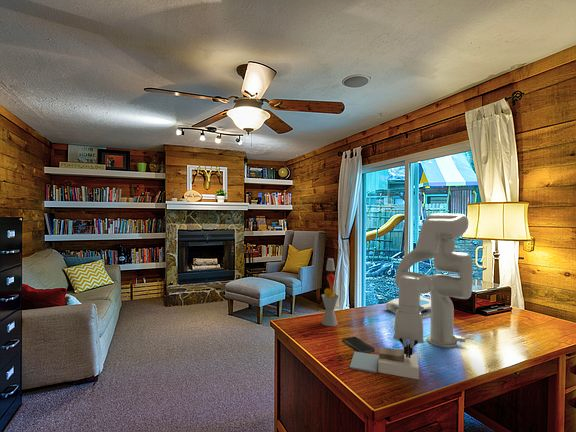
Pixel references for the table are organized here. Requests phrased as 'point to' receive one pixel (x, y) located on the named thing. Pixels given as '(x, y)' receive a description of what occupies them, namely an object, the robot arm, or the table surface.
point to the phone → (358, 345)
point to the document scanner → (424, 303)
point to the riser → (400, 367)
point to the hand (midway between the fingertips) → (408, 356)
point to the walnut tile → (391, 354)
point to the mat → (364, 362)
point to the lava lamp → (330, 297)
